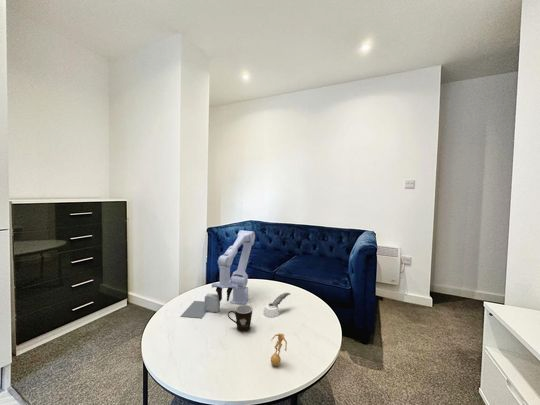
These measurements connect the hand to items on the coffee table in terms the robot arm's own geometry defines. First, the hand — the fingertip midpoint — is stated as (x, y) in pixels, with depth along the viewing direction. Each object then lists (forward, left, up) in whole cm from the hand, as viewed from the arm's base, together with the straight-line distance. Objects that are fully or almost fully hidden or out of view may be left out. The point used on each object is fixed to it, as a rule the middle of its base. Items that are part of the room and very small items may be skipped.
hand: (224, 300), depth 134 cm
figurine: (-33, +36, -7) cm, 49 cm away
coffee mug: (-13, +14, -7) cm, 20 cm away
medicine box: (+7, 0, -7) cm, 10 cm away
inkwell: (-30, -5, -7) cm, 31 cm away
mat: (+16, 0, -7) cm, 17 cm away
